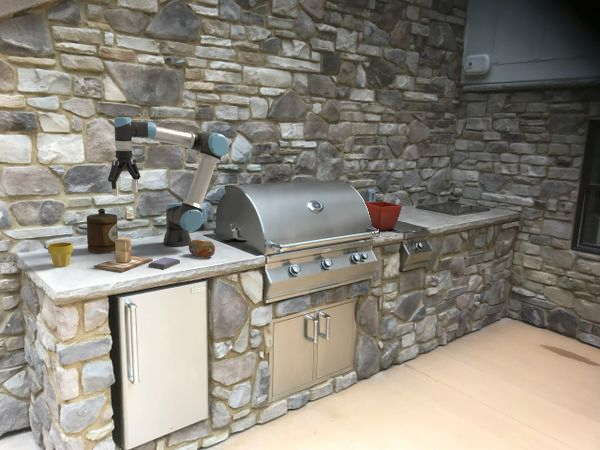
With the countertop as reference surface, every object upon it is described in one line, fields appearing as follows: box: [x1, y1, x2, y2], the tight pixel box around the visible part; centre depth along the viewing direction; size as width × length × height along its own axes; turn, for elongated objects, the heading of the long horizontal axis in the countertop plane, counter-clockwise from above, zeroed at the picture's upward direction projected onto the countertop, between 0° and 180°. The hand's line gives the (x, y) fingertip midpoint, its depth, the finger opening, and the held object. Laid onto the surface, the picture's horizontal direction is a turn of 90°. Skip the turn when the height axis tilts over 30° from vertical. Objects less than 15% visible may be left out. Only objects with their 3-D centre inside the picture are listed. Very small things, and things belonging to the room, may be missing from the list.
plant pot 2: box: [364, 201, 403, 231], centre depth 336 cm, size 19×19×17 cm
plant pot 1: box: [47, 241, 74, 268], centre depth 227 cm, size 10×10×10 cm
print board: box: [93, 255, 154, 274], centre depth 232 cm, size 22×16×1 cm
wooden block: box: [115, 236, 132, 263], centre depth 231 cm, size 5×5×11 cm
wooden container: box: [86, 208, 119, 255], centre depth 254 cm, size 15×15×22 cm
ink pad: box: [148, 256, 181, 270], centre depth 233 cm, size 12×9×2 cm
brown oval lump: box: [188, 239, 216, 259], centre depth 251 cm, size 15×3×8 cm, turn 64°
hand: (125, 194), depth 238 cm, fingers open, 13 cm apart
